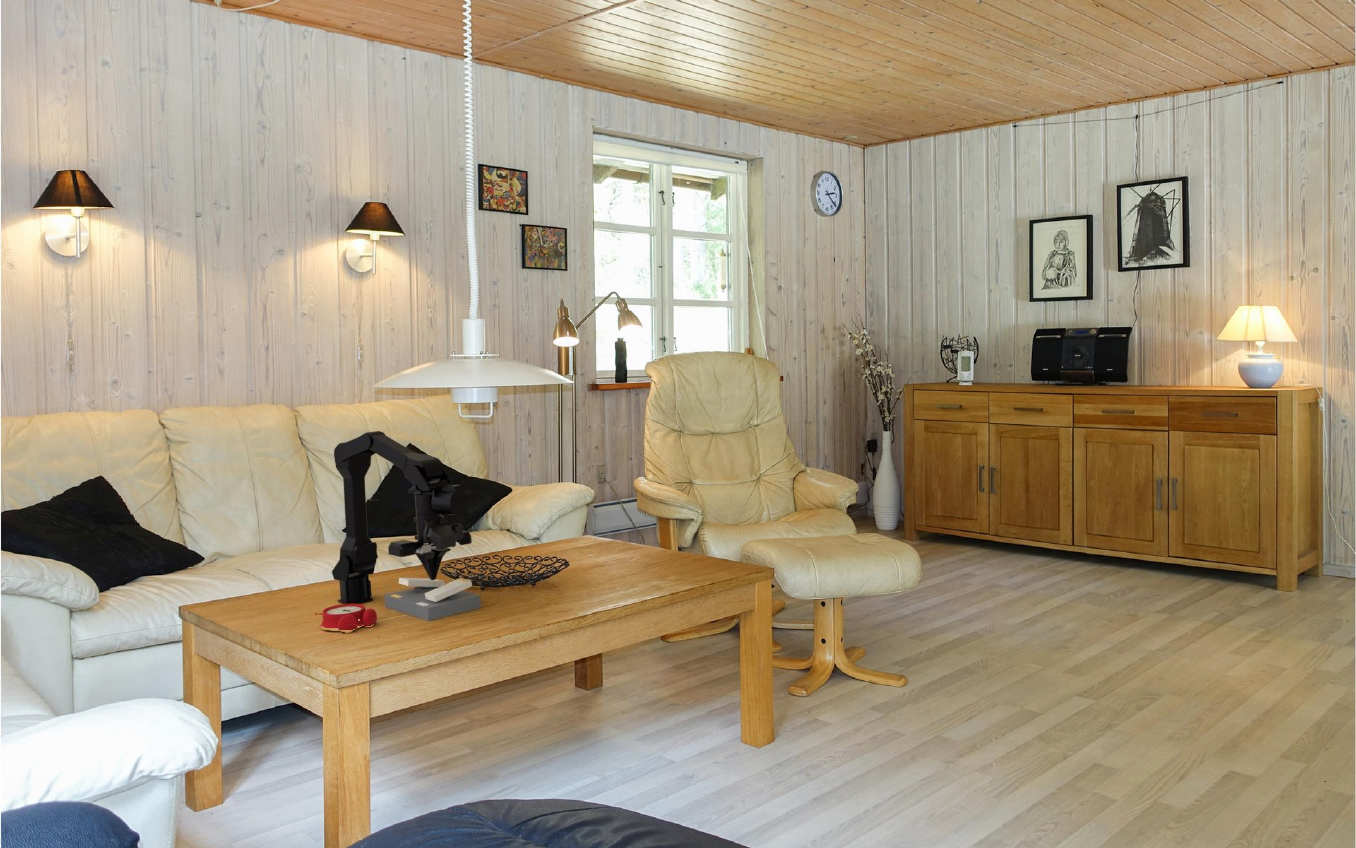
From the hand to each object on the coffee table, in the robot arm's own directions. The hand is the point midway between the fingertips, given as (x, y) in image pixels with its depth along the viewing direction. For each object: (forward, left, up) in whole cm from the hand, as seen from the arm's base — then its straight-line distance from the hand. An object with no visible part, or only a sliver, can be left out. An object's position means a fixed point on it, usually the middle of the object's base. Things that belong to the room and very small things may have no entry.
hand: (433, 579), depth 235 cm
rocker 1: (+4, +12, -3) cm, 13 cm away
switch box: (+3, +6, -8) cm, 11 cm away
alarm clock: (-18, +7, -9) cm, 21 cm away
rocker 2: (+4, 0, -3) cm, 5 cm away
